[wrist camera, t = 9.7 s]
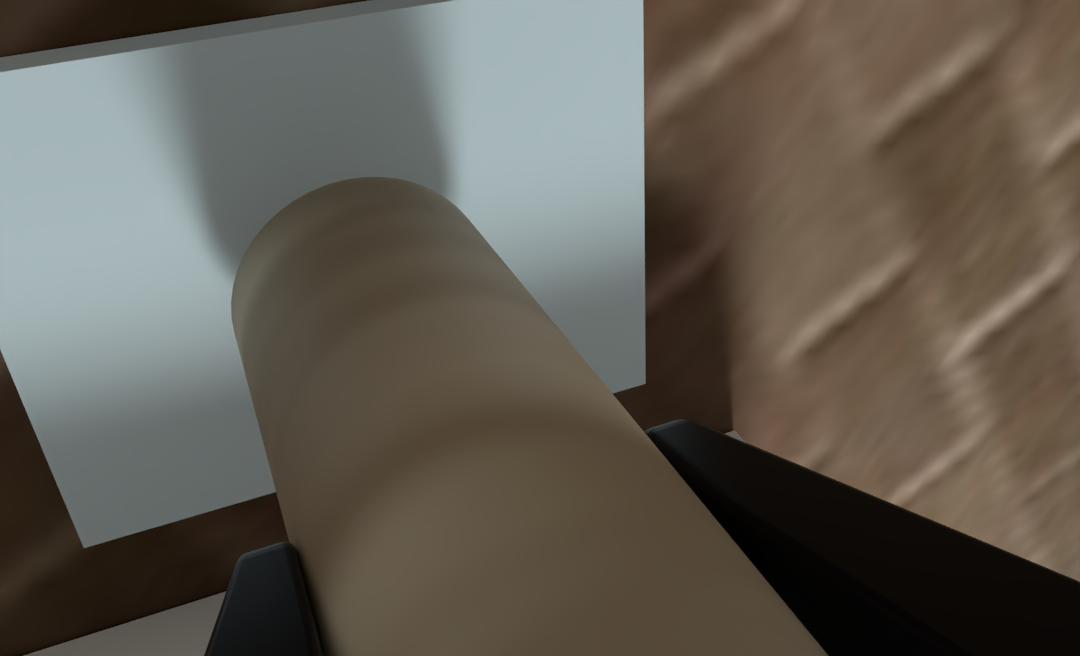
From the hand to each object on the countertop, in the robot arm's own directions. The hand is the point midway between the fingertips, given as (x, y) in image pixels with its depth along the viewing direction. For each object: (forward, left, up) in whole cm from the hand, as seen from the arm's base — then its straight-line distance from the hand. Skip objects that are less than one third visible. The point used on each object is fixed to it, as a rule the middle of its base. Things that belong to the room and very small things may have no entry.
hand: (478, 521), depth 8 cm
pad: (0, 0, -6) cm, 6 cm away
